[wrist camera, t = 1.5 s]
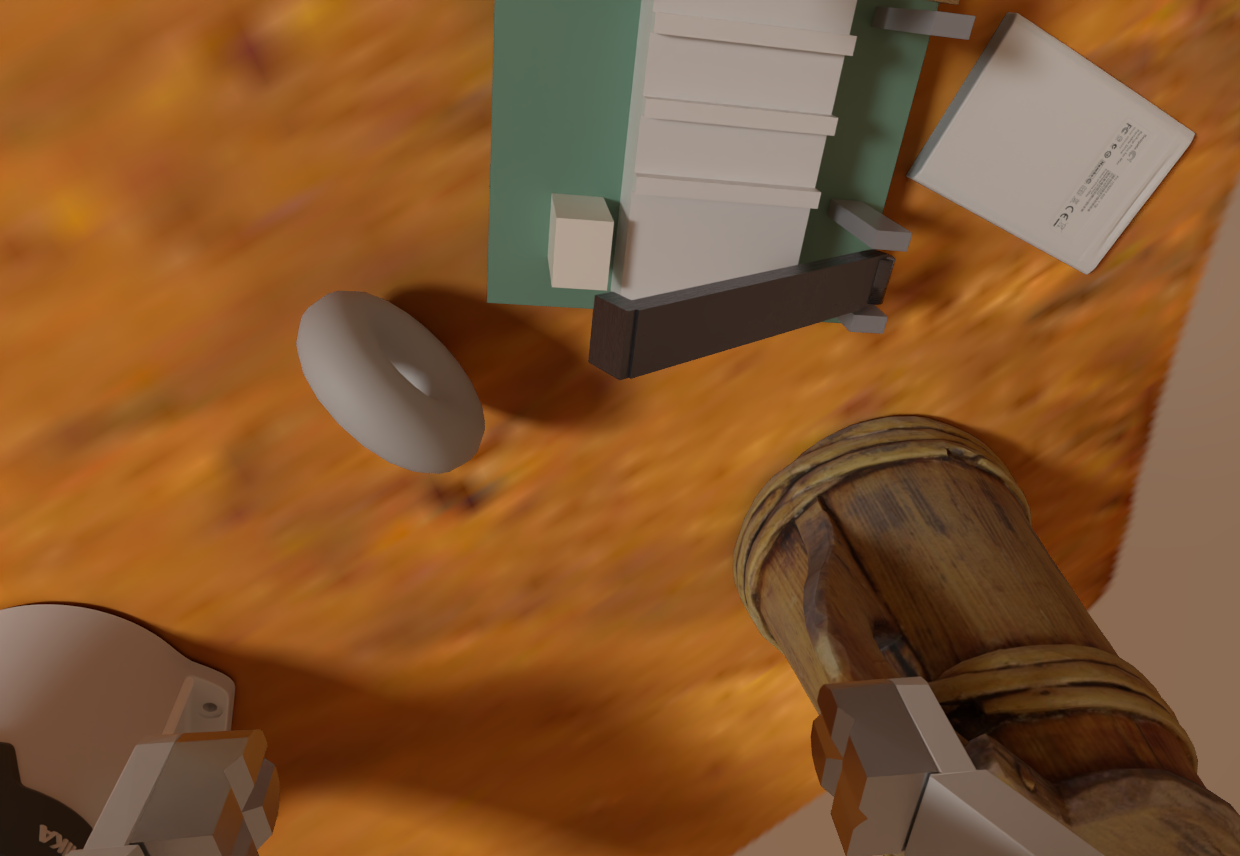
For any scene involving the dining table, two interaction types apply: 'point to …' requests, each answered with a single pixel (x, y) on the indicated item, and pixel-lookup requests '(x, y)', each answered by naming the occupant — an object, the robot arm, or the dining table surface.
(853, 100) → the board
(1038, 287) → the dining table surface
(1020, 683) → the tankard
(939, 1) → the strap brass
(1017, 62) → the external hard drive
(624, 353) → the dark grey long bar
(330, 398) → the donut
